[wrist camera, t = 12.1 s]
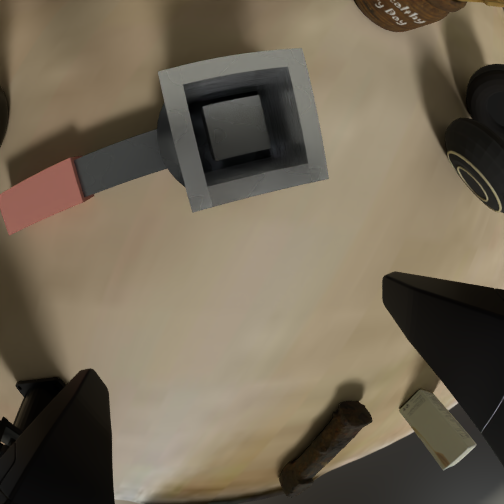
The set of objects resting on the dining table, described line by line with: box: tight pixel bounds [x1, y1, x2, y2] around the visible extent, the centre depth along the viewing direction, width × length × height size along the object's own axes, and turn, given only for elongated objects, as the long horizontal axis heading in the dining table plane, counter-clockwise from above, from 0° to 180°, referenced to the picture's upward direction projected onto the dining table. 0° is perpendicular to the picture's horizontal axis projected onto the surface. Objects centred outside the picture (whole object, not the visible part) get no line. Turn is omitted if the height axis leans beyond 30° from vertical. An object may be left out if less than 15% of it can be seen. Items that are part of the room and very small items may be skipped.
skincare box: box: [399, 389, 476, 470], centre depth 26 cm, size 6×4×12 cm
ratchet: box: [0, 91, 271, 235], centre depth 13 cm, size 18×7×5 cm, turn 103°
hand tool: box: [279, 401, 372, 498], centre depth 28 cm, size 19×4×5 cm, turn 156°
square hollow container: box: [158, 48, 329, 212], centre depth 11 cm, size 5×5×5 cm
